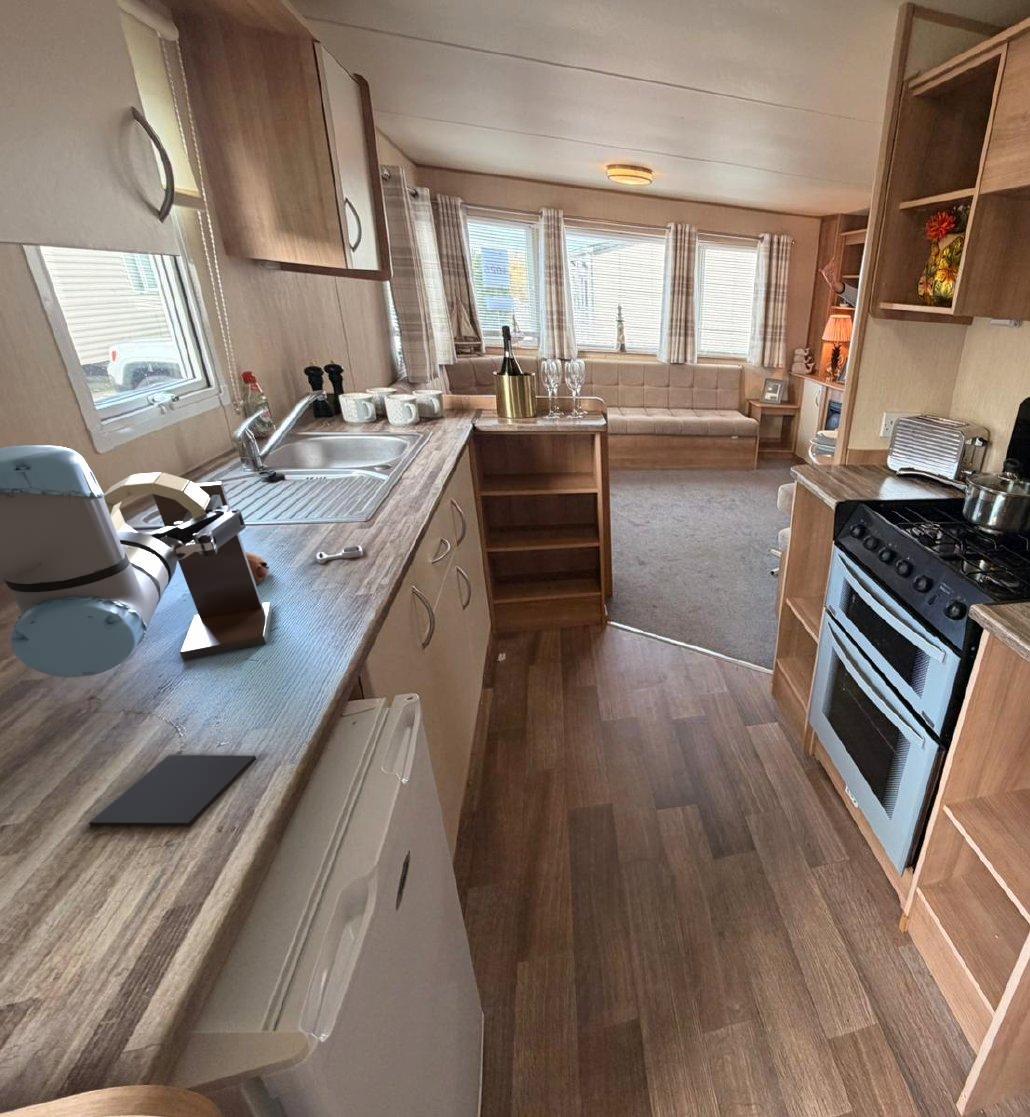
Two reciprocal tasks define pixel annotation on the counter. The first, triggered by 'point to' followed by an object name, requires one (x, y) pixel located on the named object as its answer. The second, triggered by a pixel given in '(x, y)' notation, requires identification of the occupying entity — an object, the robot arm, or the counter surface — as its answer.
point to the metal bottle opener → (340, 554)
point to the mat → (174, 791)
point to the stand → (219, 590)
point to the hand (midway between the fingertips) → (165, 509)
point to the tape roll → (158, 485)
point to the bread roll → (257, 567)
